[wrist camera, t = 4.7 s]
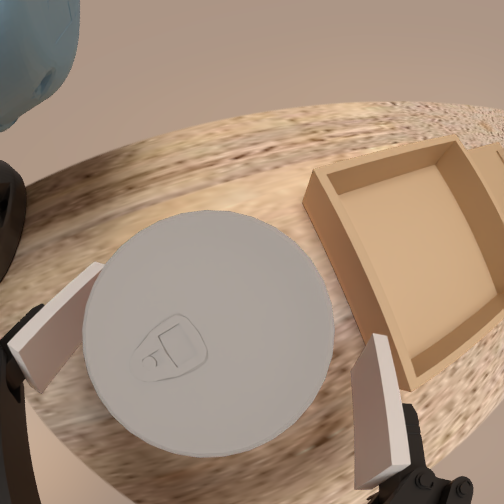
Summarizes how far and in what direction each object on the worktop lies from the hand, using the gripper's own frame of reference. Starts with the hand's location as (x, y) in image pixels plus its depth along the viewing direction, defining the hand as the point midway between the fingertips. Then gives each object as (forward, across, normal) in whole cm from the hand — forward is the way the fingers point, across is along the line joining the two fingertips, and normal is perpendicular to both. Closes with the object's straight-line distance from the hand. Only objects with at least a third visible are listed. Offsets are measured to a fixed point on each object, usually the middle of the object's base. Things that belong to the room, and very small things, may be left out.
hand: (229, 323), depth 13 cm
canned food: (+4, 0, -5) cm, 6 cm away
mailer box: (+13, +18, +5) cm, 23 cm away
